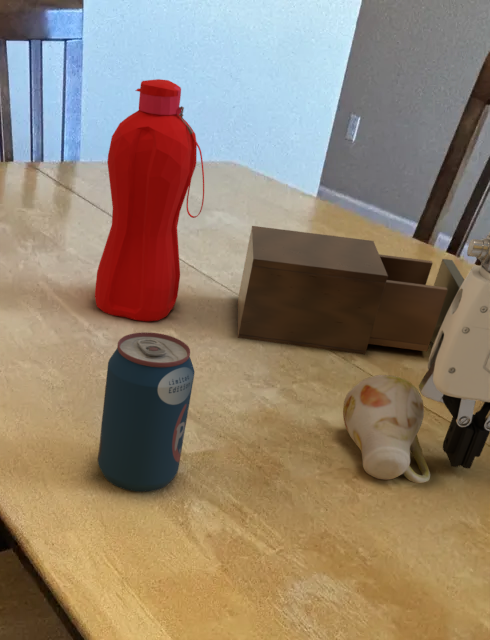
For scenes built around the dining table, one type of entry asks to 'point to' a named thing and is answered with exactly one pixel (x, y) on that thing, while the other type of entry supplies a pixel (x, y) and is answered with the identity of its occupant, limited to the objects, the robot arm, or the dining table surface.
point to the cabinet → (310, 290)
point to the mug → (386, 426)
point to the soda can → (145, 411)
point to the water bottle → (147, 206)
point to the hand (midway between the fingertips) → (457, 459)
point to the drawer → (413, 302)
